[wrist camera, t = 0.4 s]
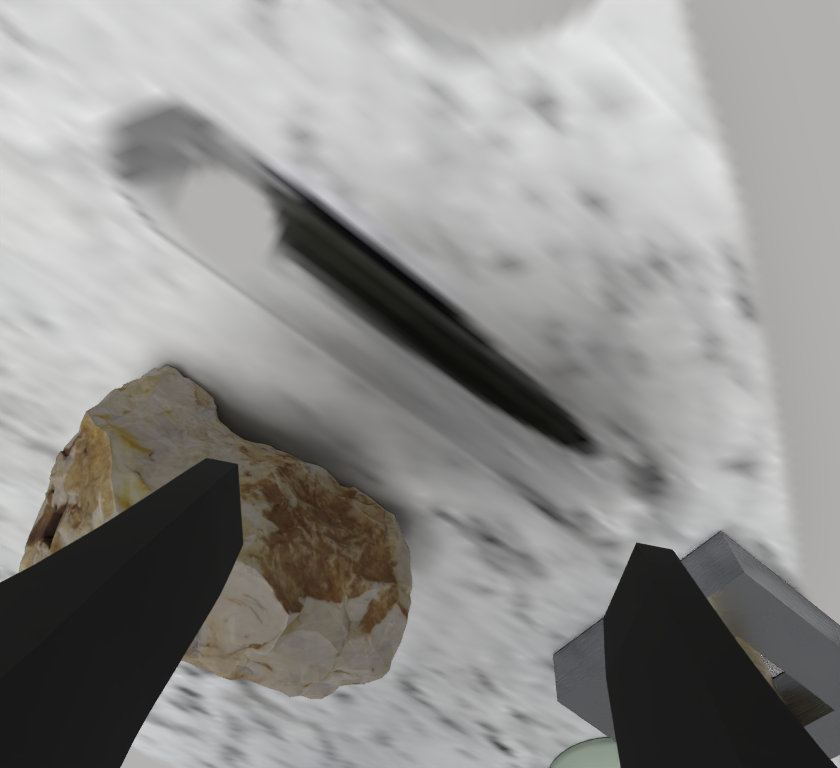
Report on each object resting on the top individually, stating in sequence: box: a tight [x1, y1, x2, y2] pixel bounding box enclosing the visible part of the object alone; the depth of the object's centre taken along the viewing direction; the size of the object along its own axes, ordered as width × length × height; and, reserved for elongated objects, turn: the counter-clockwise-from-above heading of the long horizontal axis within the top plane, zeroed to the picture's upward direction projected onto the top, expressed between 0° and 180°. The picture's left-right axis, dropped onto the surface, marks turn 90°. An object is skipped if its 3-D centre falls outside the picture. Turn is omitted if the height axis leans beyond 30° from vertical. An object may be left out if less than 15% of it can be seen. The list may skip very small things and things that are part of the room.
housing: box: [553, 532, 840, 759], centre depth 22 cm, size 9×9×2 cm
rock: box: [19, 365, 412, 699], centre depth 20 cm, size 12×7×10 cm, turn 54°
